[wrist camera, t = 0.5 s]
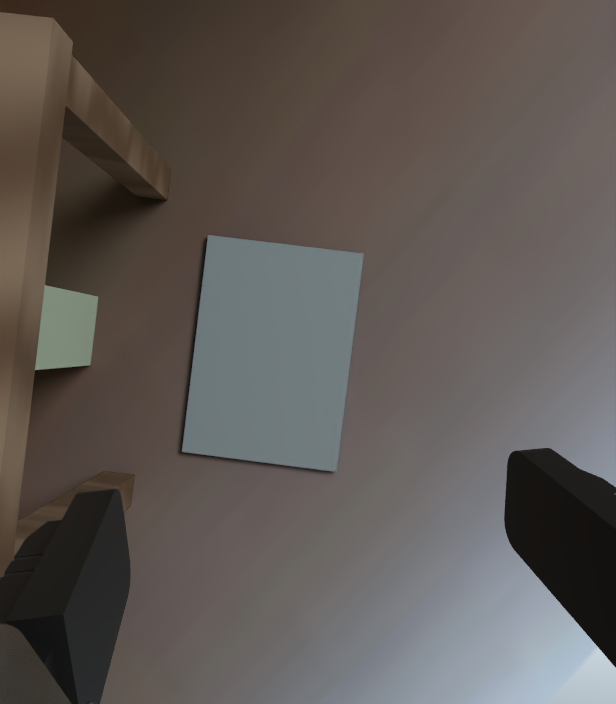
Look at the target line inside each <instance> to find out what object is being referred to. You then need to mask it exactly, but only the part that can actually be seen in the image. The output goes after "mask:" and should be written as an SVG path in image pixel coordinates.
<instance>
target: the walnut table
mask: <svg viewBox="0 0 616 704" xmlns="http://www.w3.org/2000/svg"><path fill="white" fill-rule="evenodd" d="M72 46H73V41H72V40H71V39H70V38H69V37H68V35H67V34H66V33H65V32H64V31H63V29H62V28H61V27H60V26H59V24H58V23H57V22H56V21H55V20H54V18H48V17H39V16H30V15H21V14H12V13H3V12H0V579H1V577H4V572H5V571H6V569H7V567H8V566H9V564H10V563H11V561H14V556H15V555H16V553H17V552H18V550H19V548H20V547H21V545H22V544H23V542H24V540H25V539H26V538H27V537H28V536H29V535H31V534H32V533H33V532H35V531H36V530H37V529H38V528H40V527H41V526H42V525H43V524H45V523H46V522H47V521H56V520H62V518H63V517H64V515H65V513H66V511H67V509H68V508H69V506H70V504H71V502H72V500H73V498H74V497H75V495H76V494H77V493H78V492H87V491H97V490H108V489H119V491H120V494H121V497H122V503H123V511H125V510H126V509H127V508H128V507H130V506H131V500H132V492H133V483H134V475H130V474H122V473H115V472H107V471H104V472H102V473H100V474H99V475H97V476H95V477H93V478H92V479H90V480H88V481H86V482H85V483H83V484H81V485H80V486H78V487H76V488H74V489H73V490H71V491H69V492H68V493H66V494H64V495H62V496H61V497H59V498H57V499H55V500H54V501H52V502H50V503H49V504H47V505H45V506H43V507H42V508H40V509H38V510H36V511H35V512H33V513H31V514H30V515H28V516H26V517H24V518H23V519H21V520H19V521H18V512H19V504H20V495H21V486H22V478H23V469H24V460H25V452H26V443H27V435H28V426H29V417H30V409H31V400H32V391H33V383H34V374H35V366H36V357H37V348H38V340H39V331H40V322H41V314H42V305H43V297H44V288H45V279H46V271H47V262H48V253H49V245H50V236H51V227H52V219H53V210H54V202H55V193H56V184H57V176H58V167H59V158H60V150H61V141H62V137H63V138H64V139H66V140H67V141H68V142H69V143H71V144H72V145H73V146H74V147H76V148H77V149H78V150H79V151H81V152H82V153H83V154H84V155H86V156H87V157H88V158H89V159H91V160H92V161H93V162H94V163H96V164H97V165H98V166H99V167H101V168H102V169H103V170H104V171H106V172H107V173H108V174H109V175H111V176H112V177H113V178H114V179H116V180H117V181H118V182H119V183H121V184H122V185H123V186H124V187H126V188H127V189H128V190H129V191H131V192H132V193H133V194H134V195H136V196H137V197H146V198H154V199H163V200H167V198H168V190H169V182H170V173H171V169H170V168H169V166H168V165H167V164H166V163H165V162H164V161H163V159H162V158H161V157H160V156H159V155H158V154H157V152H156V151H155V150H154V149H153V148H152V147H151V146H150V144H149V143H148V142H147V141H146V140H145V139H144V137H143V136H142V135H141V134H140V133H139V132H138V130H137V129H136V128H135V127H134V126H133V125H132V124H131V122H130V121H129V120H128V119H127V118H126V117H125V115H124V114H123V113H122V112H121V111H120V110H119V108H118V107H117V106H116V105H115V104H114V103H113V102H112V100H111V99H110V98H109V97H108V96H107V95H106V93H105V92H104V91H103V90H102V89H101V88H100V86H99V85H98V84H97V83H96V82H95V81H94V80H93V78H92V77H91V76H90V75H89V74H88V73H87V71H86V70H85V69H84V68H83V67H82V66H81V64H80V63H79V62H78V61H77V60H76V59H75V58H74V56H73V55H72Z"/></svg>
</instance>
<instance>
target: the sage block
mask: <svg viewBox="0 0 616 704" xmlns="http://www.w3.org/2000/svg"><path fill="white" fill-rule="evenodd" d="M97 304H98V297H97V296H92V295H88V294H83V293H78V292H74V291H69V290H64V289H60V288H55V287H51V286H46V285H45V288H44V297H43V305H42V314H41V322H40V331H39V340H38V348H37V357H36V366H35V370H42V369H54V368H65V367H77V366H88V365H90V364H91V355H92V347H93V338H94V330H95V321H96V313H97Z"/></svg>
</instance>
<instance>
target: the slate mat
mask: <svg viewBox="0 0 616 704" xmlns="http://www.w3.org/2000/svg"><path fill="white" fill-rule="evenodd" d="M363 256H364V254H362V253H354V252H345V251H337V250H329V249H320V248H312V247H303V246H295V245H287V244H278V243H270V242H262V241H253V240H245V239H237V238H228V237H220V236H212V235H208V240H207V248H206V257H205V265H204V273H203V281H202V290H201V298H200V306H199V315H198V323H197V331H196V339H195V348H194V356H193V364H192V373H191V381H190V389H189V397H188V406H187V414H186V422H185V431H184V439H183V447H182V452H187V453H195V454H202V455H210V456H218V457H225V458H233V459H241V460H249V461H256V462H264V463H272V464H279V465H287V466H295V467H303V468H310V469H318V470H326V471H333V472H336V471H337V463H338V455H339V447H340V439H341V431H342V423H343V415H344V407H345V399H346V391H347V383H348V375H349V367H350V359H351V351H352V343H353V335H354V327H355V320H356V312H357V304H358V296H359V288H360V280H361V272H362V264H363Z"/></svg>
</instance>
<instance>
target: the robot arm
mask: <svg viewBox="0 0 616 704" xmlns="http://www.w3.org/2000/svg"><path fill="white" fill-rule="evenodd" d="M504 521H505V529H506V533H507V537H508V539H509V542H510V544H511V546H512V547H513V549H514V550H515V551H516V552H517V554H518V555H519V556H520V557H521V558H522V559H523V560H524V562H525V563H526V564H527V565H528V566H529V567H530V569H531V570H532V571H533V572H534V573H535V574H536V576H537V577H538V578H539V579H540V580H541V581H542V583H543V584H544V585H545V586H546V587H547V588H548V589H549V591H550V592H551V593H552V594H553V595H554V596H555V598H556V599H557V600H558V601H559V602H560V603H561V605H562V606H563V607H564V608H565V609H566V610H567V612H568V613H569V614H570V615H571V616H572V617H573V618H574V620H575V621H576V622H577V623H578V624H579V625H580V627H581V628H582V629H583V630H584V631H585V632H586V634H587V635H588V636H589V637H590V638H591V639H592V641H593V642H594V643H595V644H596V645H597V646H598V647H599V649H600V650H601V651H602V652H603V653H604V654H605V656H606V657H607V658H608V659H609V660H610V661H611V663H612V664H613V665H614V666H615V667H616V487H614V486H613V485H611V484H610V483H608V482H607V481H606V480H604V479H603V478H600V477H598V476H595V475H593V474H590V473H588V472H585V471H583V470H581V469H579V468H577V467H576V466H574V465H573V464H572V463H570V462H569V461H567V460H566V459H565V458H563V457H562V456H560V455H559V454H558V453H556V452H555V451H554V450H552V449H550V448H542V449H531V450H521V451H514V452H512V453H511V454H510V456H509V459H508V465H507V482H506V499H505V516H504ZM129 588H130V557H129V550H128V542H127V534H126V526H125V519H124V511H123V503H122V497H121V494H120V491H119V489H108V490H97V491H87V492H78V493H77V494H76V495H75V497H74V498H73V500H72V502H71V504H70V506H69V508H68V509H67V511H66V513H65V515H64V517H63V518H62V520H56V521H47V522H46V523H45V524H43V525H42V526H41V527H40V528H38V529H37V530H36V531H35V532H33V533H32V534H31V535H29V536H28V537H27V538H26V539H25V540H24V542H23V544H22V545H21V547H20V548H19V550H18V552H17V553H16V555H15V556H14V561H11V563H10V564H9V566H8V567H7V569H6V571H5V572H4V577H1V579H0V704H100V700H101V697H102V693H103V689H104V685H105V681H106V678H107V674H108V670H109V666H110V663H111V659H112V655H113V651H114V647H115V644H116V640H117V636H118V632H119V628H120V625H121V621H122V617H123V613H124V609H125V606H126V602H127V598H128V594H129Z"/></svg>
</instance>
